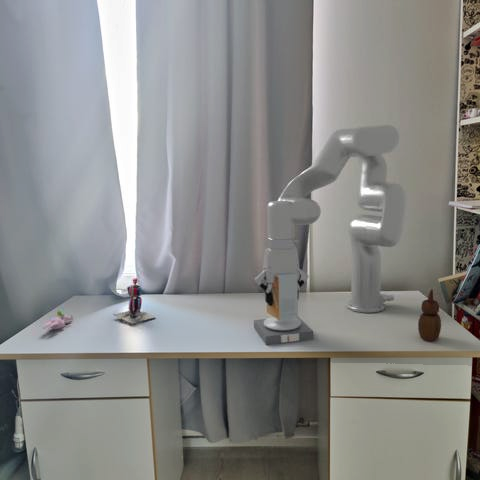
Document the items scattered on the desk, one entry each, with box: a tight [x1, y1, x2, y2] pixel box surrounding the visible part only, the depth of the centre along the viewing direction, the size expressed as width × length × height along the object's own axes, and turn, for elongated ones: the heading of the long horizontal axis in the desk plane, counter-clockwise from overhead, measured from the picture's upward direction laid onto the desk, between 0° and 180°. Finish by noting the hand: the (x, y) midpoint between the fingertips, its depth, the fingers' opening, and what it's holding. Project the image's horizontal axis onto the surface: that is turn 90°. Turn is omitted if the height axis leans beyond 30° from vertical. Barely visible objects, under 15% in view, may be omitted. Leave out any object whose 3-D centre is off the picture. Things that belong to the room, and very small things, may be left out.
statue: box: [112, 277, 156, 326], centre depth 162 cm, size 11×9×15 cm
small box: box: [266, 274, 299, 321], centre depth 144 cm, size 8×6×13 cm
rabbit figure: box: [42, 309, 74, 331], centre depth 156 cm, size 6×6×15 cm
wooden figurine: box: [417, 288, 442, 342], centre depth 137 cm, size 7×6×15 cm
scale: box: [253, 316, 314, 346], centre depth 145 cm, size 14×15×4 cm
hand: (282, 303), depth 144 cm, fingers closed on small box, 7 cm apart
